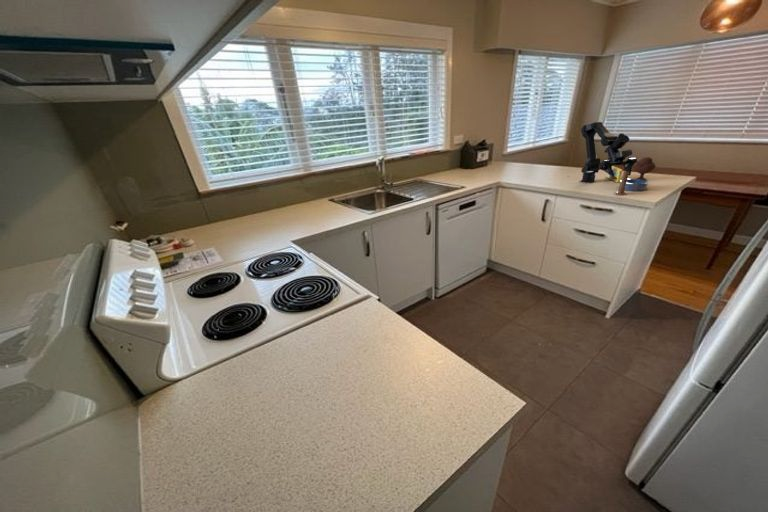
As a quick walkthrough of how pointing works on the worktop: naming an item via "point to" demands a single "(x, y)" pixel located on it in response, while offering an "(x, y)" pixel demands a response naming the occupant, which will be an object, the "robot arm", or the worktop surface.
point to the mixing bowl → (635, 185)
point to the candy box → (615, 174)
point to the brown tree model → (644, 167)
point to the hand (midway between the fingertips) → (621, 175)
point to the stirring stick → (623, 183)
